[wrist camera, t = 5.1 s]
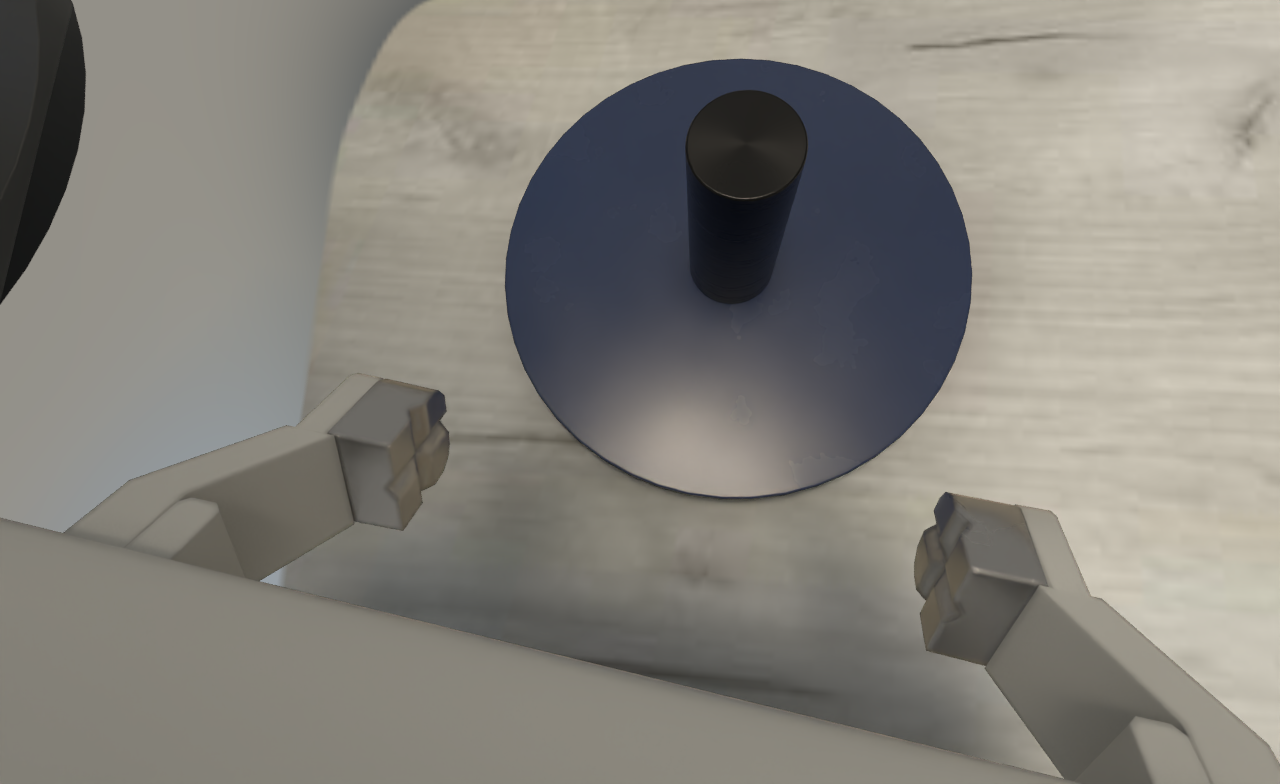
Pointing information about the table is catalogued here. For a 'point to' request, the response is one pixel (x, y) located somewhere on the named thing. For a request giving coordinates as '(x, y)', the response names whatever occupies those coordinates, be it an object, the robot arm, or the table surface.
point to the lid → (738, 279)
